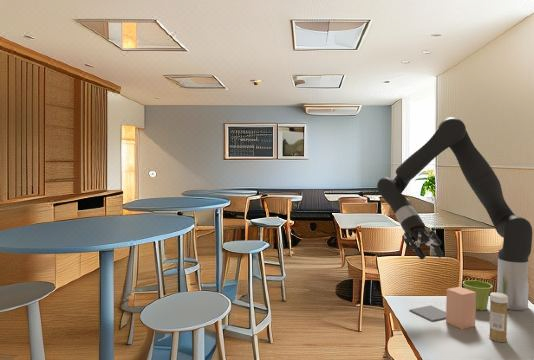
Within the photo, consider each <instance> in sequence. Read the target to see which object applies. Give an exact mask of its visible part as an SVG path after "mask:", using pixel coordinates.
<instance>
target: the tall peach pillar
mask: <svg viewBox="0 0 534 360" xmlns="http://www.w3.org/2000/svg"><path fill="white" fill-rule="evenodd" d="M445 309H446V310H445V312H446V319H445V322H446V323H447V324H449V325H452V326H453V327H456V328H459V329H460V330H463V329H469V328H473V327H475V326H476V312H477V310H476V292H474V291H471V290H468V289H465V288H464V287H462V286H456V287H450V288H446V302H445Z"/></svg>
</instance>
